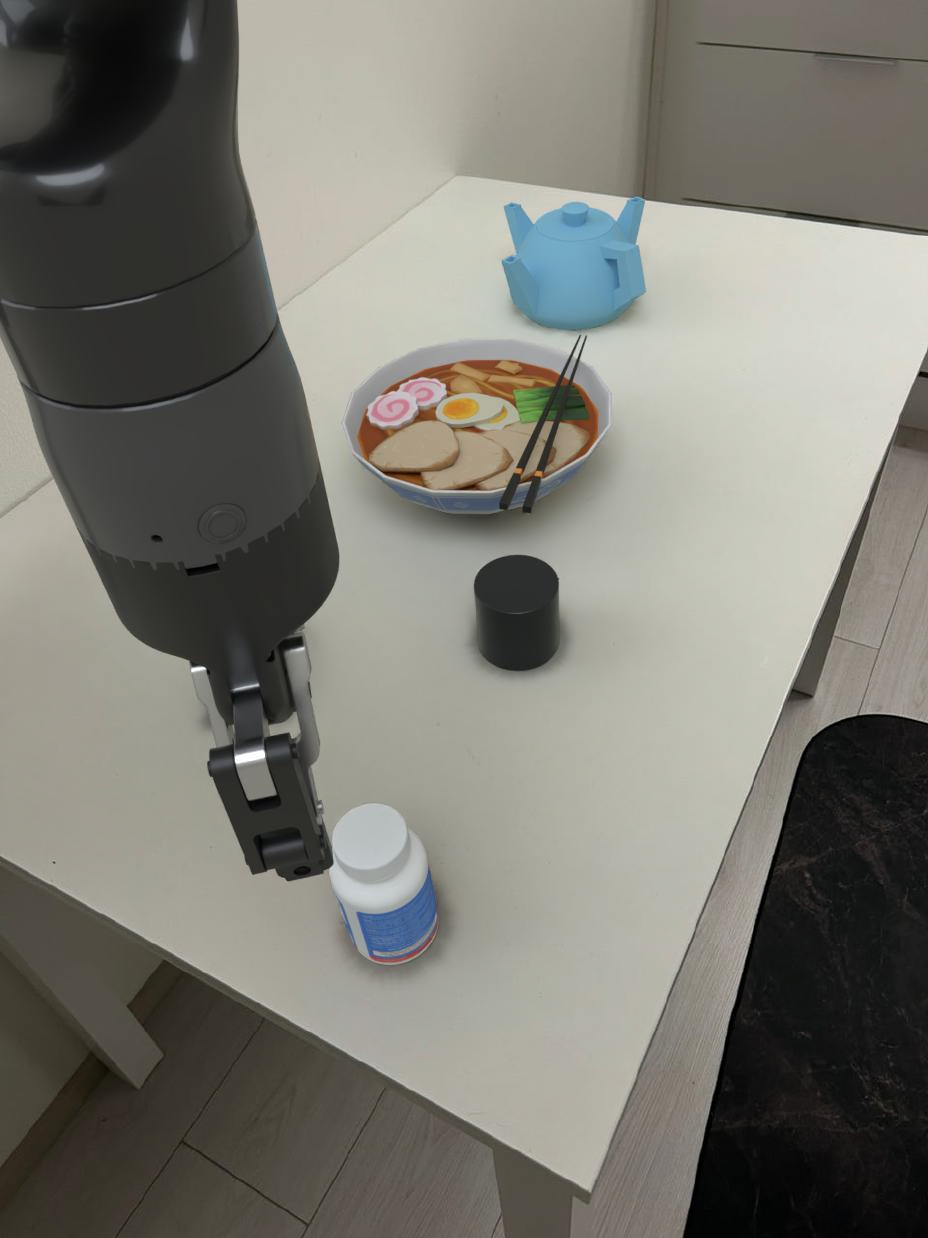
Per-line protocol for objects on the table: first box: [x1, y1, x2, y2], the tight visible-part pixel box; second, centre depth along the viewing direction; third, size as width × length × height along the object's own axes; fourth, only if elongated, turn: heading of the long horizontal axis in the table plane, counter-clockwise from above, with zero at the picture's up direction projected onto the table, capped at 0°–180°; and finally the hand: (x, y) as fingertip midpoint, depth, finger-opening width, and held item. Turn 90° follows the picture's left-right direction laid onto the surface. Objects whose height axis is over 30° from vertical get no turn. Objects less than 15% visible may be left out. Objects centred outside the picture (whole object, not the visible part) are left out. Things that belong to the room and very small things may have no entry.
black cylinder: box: [473, 554, 560, 672], centre depth 70 cm, size 6×6×6 cm
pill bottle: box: [328, 802, 440, 966], centre depth 54 cm, size 6×5×10 cm
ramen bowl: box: [340, 334, 613, 515], centre depth 84 cm, size 25×23×8 cm
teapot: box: [501, 196, 647, 331], centre depth 103 cm, size 15×15×11 cm
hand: (297, 779), depth 41 cm, fingers open, 8 cm apart
